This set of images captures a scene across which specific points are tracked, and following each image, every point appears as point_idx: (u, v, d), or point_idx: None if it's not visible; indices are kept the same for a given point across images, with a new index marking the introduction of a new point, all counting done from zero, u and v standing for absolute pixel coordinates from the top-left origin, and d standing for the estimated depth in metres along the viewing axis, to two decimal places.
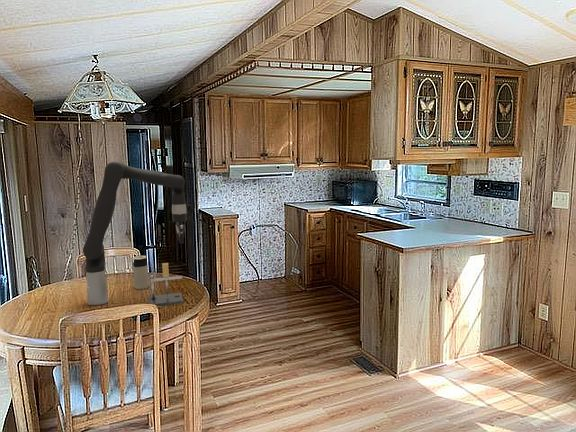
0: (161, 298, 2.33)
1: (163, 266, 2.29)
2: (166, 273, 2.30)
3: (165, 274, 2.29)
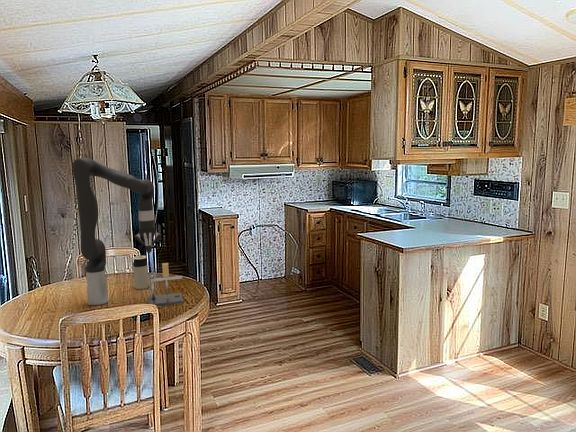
0: (161, 298, 2.33)
1: (163, 266, 2.29)
2: (166, 273, 2.30)
3: (165, 274, 2.29)
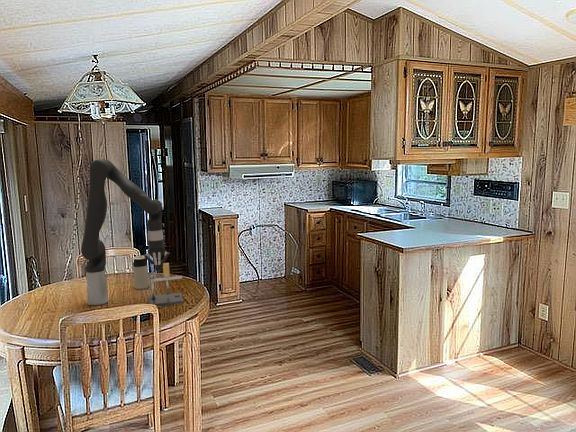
0: (161, 298, 2.33)
1: (164, 266, 2.29)
2: (167, 273, 2.30)
3: (166, 274, 2.30)
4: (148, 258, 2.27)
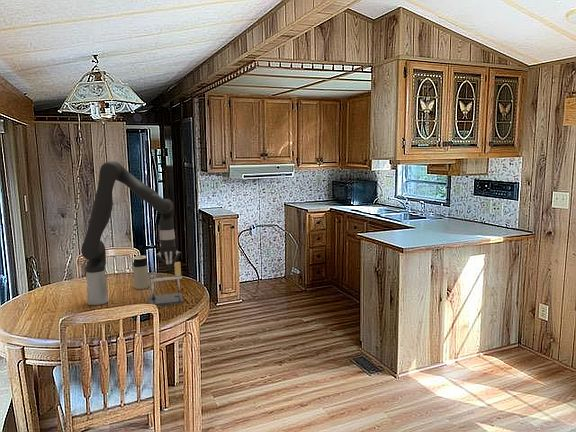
0: (161, 298, 2.33)
1: (175, 265, 2.30)
2: (178, 272, 2.31)
3: (177, 273, 2.31)
4: (160, 257, 2.28)
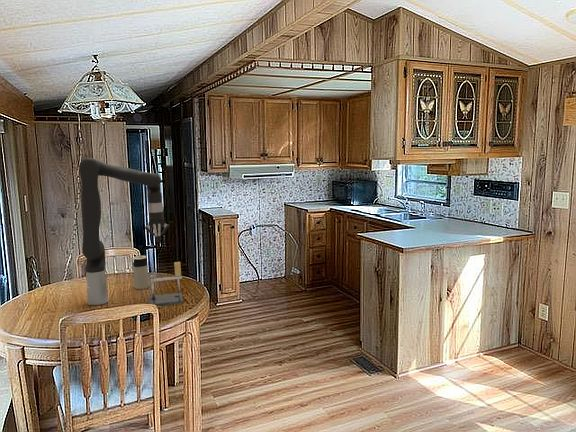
0: (161, 298, 2.33)
1: (175, 265, 2.30)
2: (178, 272, 2.31)
3: (177, 273, 2.31)
4: (148, 229, 2.37)
